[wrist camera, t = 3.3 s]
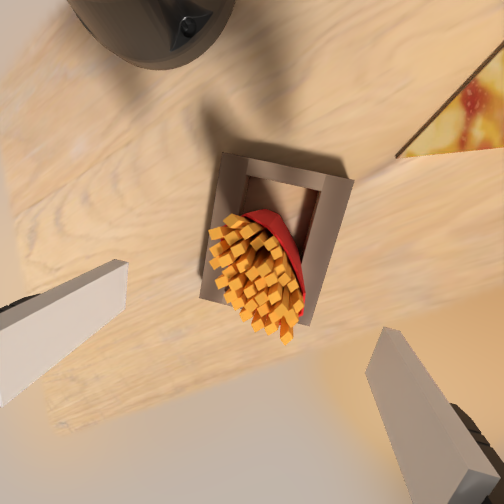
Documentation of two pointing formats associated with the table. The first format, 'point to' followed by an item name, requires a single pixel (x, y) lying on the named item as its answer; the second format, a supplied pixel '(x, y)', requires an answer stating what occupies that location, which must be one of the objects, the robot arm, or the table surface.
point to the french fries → (260, 270)
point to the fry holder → (319, 232)
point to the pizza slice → (468, 117)
